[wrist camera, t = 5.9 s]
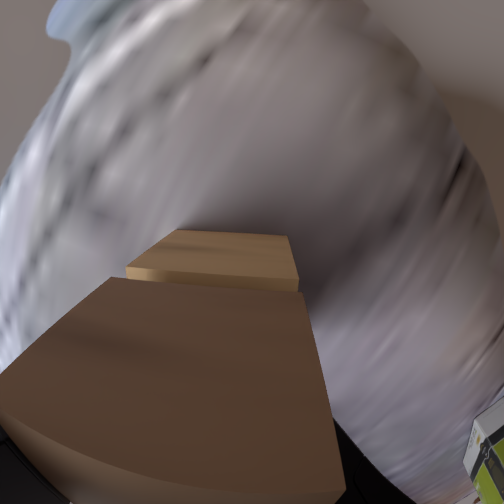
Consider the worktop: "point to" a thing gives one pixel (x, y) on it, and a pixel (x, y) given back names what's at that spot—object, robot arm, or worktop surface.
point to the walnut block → (177, 399)
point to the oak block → (219, 261)
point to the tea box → (487, 454)
